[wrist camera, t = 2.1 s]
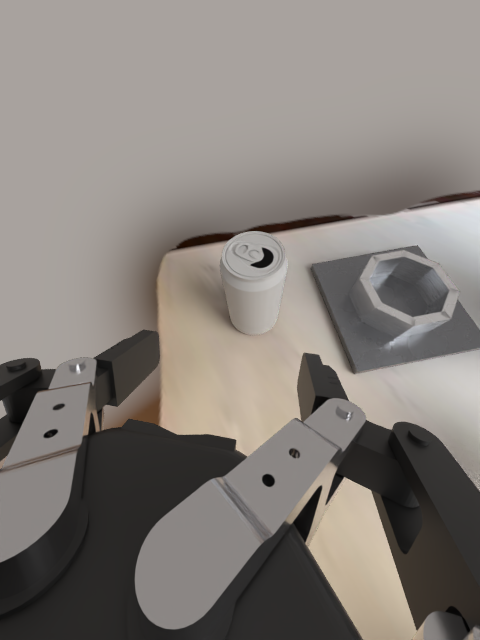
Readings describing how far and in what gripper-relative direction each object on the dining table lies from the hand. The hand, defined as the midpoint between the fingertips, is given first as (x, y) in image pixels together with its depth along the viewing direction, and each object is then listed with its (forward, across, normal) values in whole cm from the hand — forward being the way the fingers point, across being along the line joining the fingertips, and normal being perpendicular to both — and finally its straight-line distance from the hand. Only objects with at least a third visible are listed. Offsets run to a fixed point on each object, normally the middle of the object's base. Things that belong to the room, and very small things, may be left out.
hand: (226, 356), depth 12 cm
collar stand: (+21, -18, 0) cm, 28 cm away
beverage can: (+18, 0, +4) cm, 19 cm away
